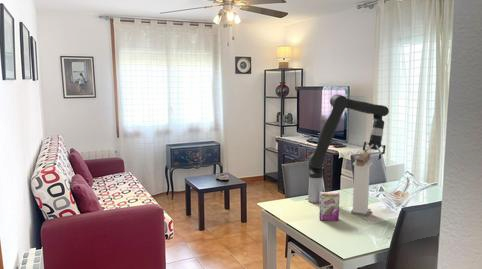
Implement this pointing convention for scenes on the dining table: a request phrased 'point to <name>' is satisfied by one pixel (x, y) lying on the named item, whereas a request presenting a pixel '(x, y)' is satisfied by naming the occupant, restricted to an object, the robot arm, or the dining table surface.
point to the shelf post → (361, 189)
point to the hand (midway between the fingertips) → (372, 158)
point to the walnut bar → (362, 159)
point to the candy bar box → (329, 206)
